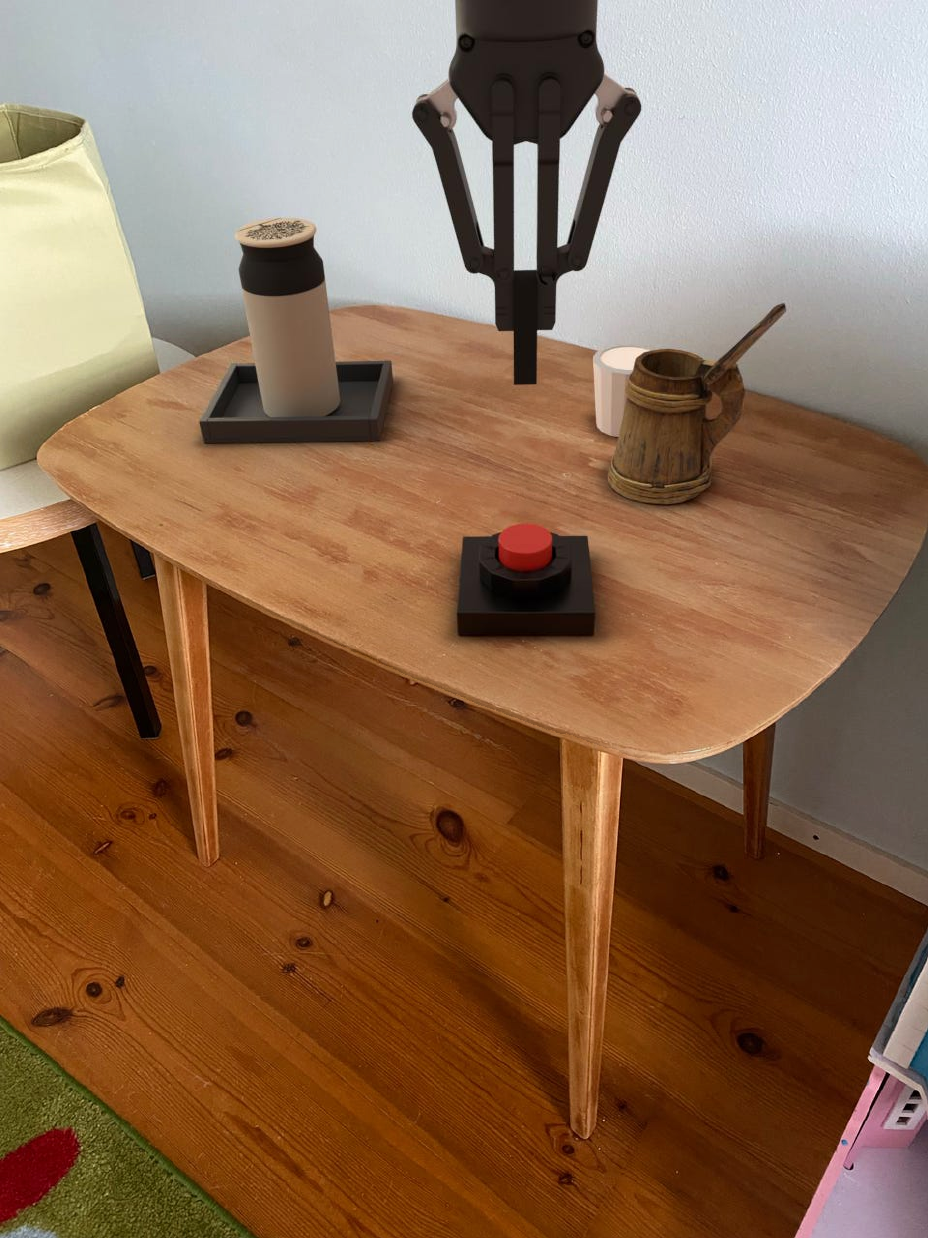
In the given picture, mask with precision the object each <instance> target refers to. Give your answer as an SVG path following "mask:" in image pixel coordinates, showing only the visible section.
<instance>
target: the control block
mask: <svg viewBox="0 0 928 1238" xmlns="http://www.w3.org/2000/svg"><path fill="white" fill-rule="evenodd" d="M501 532H502V531H500V532H497V533H493V534H492V535H487V536H485V535H483V536H482V535H480V536H478V535H476V536H475V535H474V536H468V535H467V536H466V535H465V536H462V541H461V542H462V543H461V556H460V569H459V580H458V581H459V582H458V593H457V594H458V595H457V604H456V605H457V606H456V607H457V608H456V621H457V622H456V623H457V625H456V626H457V636H458V637H540V636H541V637H567V636H568V637H580V636H581V637H594V635H595V625H596V624H595V623H596V608H595V607H596V606H595V595H594V587H593V586H594V585H593V576H592V567H591V556H590V546H589V536H588V535H559V534H558V533H555V532H552V531H549V532H550V533H551V535H552V559H551V561H550V563H549V564H548V565H547V566H546V567H543V568H541V569H538V570H535V571H517V570H514V569H511V568H508V567H505V566H504V565H502V563H501V562H500V560H499V535H500V533H501Z"/></svg>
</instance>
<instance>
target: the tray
mask: <svg viewBox="0 0 928 1238" xmlns="http://www.w3.org/2000/svg"><path fill="white" fill-rule="evenodd" d="M335 362H336V370H337V378H338V386H339V394H340V404H339V406H338V407H337V409H335V410H334V411H333V412H331V413H330V414H328V415H326V416H311V417H269V416H268V415H267V414H266V413H265V412H264V410H263V404H262V398H261V393H260V387H259V382H258V376H257V370H256V365H255V362H243V363H241V362H240V363H237V362H236V363H230V364H229V366H228V368H227V370H226V372H225V373H224V375H223V377H222V378H221V381H220V382H219V384H218V386H217V388H216V390H215V391H214V393H213V395H212V397H211V399H210V400H209V402H208V404H207V407H206V408H205V409H204V411H203V414H202V416H201V417H200V419H199V421H198V423H199V427H200V432H201V436H202V439H203V441H202V442H203V443H204V444H245V443H246V444H248V443H249V444H250V443H251V444H252V443H253V444H254V443H255V444H256V443H320V442H321V443H324V442H325V443H327V442H328V443H329V442H335V443H337V442H380V440H381V437H382V431H383V427H384V423H385V419H386V414H387V410H388V405H389V401H390V397H391V392H392V387H393V383H394V376H393V375H394V374H393V365H392V360H363V361H362V360H353V361H351V360H350V361H349V360H348V361H345V360H344V361H335Z"/></svg>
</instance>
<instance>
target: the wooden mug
mask: <svg viewBox="0 0 928 1238" xmlns="http://www.w3.org/2000/svg"><path fill="white" fill-rule="evenodd" d="M786 312H787V307H786V303H785V302H782V303H780V304H777V305H775V306H773V307H772V309H770V311H769V312H768V313H767V314H766V315H765V316H764V317H763V318H762V319H761V320H760V322H758V323H757V324H756V325H755V326H753V327H752V328H751V329H750V330H749V331H748V332H747V333H746V334H745V335H743V337H741V339H740V340H739V341H737V343H735V344H734V345H733V346H732V347H731V348H730V349H729V350H728V351H727V352H725V354H723V355H722V356H721V357H720V358H719V359H718V360H710V359H709V360H708V359H704V358H703V357H701V356H700V355H698V354H696V353H693V352H690V351H687V350H681V349H675V348H659V349H656V350H652V351H648V352H644V353H642V354H641V355H639V356H638V357H637V358H636V360H635V364H634V368H633V372H632V373H631V374H630V377H629V380H628V382H627V385H626V388H625V393H626V396H627V400H626V405H625V410H624V415H623V419H622V424H621V428H620V433H619V437H617V441H616V446H615V450H614V454H613V455H612V457H611V459H610V463H609V468H608V472H607V482H608V483H609V485H610V487H611V488H612V489H613V490H614V491H615V492H616V493H617V494H618V495H621V496H622V497H624V498H627V499H629V500H632V501H636V502H640V503H648V504H655V505H656V504H657V505H672V504H678V503H683V502H686V501H689V500H691V499H694V498H696V497H698V496H700V494H702V493H703V492H704V491H705V490H706V489H708V488H709V487H710V485H712V473H713V462H712V461H713V460H712V453H713V451H714V450H715V449H716V447H717V446H718V444H719V443H720V442H721V441H722V440H723V439H724V438H725V437H726V436H727V435H728V434H729V433H730V432H731V431H732V429H733V428H734V427H735V426H736V424H737V423H738V421H739V420H740V419H741V415H742V412H743V410H744V407H745V395H746V390H745V385H744V381H743V376H742V373H741V371H740V368H739V364H738V363H737V362H739V360H740V359H741V358H742V357H743V356H744V355H745V354H746V353H747V352H748V351H749V349H751V348H752V347H753V346H754V345H755V344H756V342H758V340H760V338H761V337H762V336H764V334H765V333H766V332H768V331H769V329H771V327H772V326H773V325H775V323H777V322H778V321H779V319H781V317H782V316H783V315H784V314H785V313H786ZM713 393H714V394H715V395H717V396H718V397H719V398H720V401H721V405H722V407H721V411H720V413H719V414H718V415H717V416H716V417H714V418H710V419H709V418H707V405H708V404H710V403H711V402H712V399H713Z"/></svg>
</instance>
